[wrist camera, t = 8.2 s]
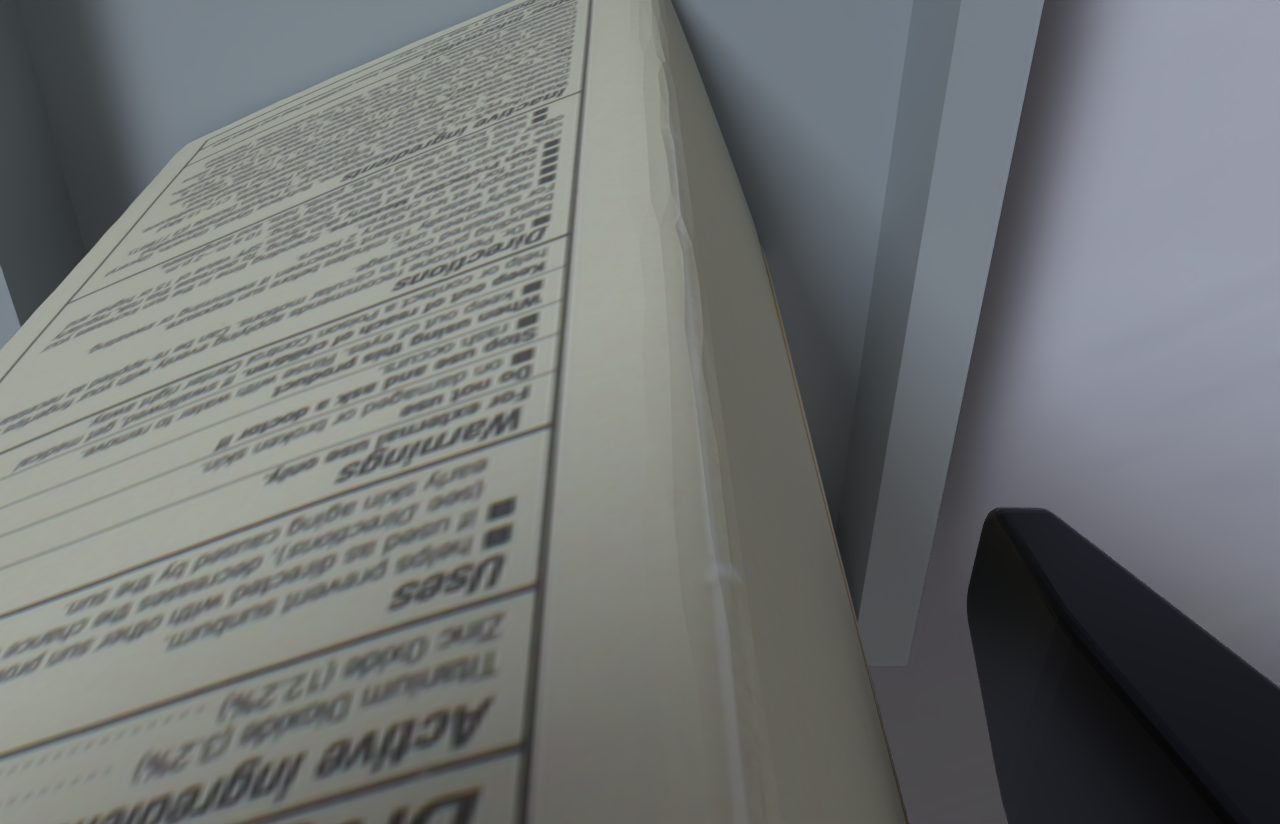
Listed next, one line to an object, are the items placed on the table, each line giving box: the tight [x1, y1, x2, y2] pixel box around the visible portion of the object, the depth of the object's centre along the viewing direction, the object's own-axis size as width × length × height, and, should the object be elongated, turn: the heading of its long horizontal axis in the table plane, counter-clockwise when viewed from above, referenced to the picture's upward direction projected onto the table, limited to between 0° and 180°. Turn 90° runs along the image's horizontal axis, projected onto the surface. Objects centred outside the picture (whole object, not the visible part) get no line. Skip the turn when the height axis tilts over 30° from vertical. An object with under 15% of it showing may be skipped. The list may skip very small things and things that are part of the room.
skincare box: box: [0, 0, 909, 824], centre depth 9 cm, size 6×4×12 cm
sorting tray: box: [0, 0, 1044, 667], centre depth 14 cm, size 12×13×2 cm
